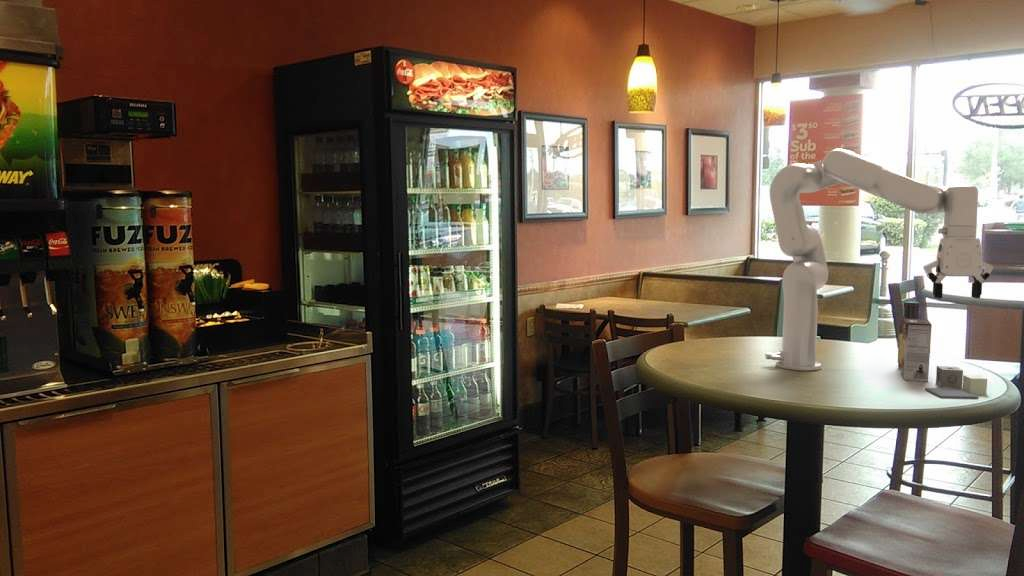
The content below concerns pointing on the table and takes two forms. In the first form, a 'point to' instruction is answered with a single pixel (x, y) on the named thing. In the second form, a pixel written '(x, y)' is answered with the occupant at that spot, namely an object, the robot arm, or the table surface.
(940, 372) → the grey cube
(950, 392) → the black mat
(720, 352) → the table surface
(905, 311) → the sauce bottle
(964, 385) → the sage block
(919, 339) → the coffee box
